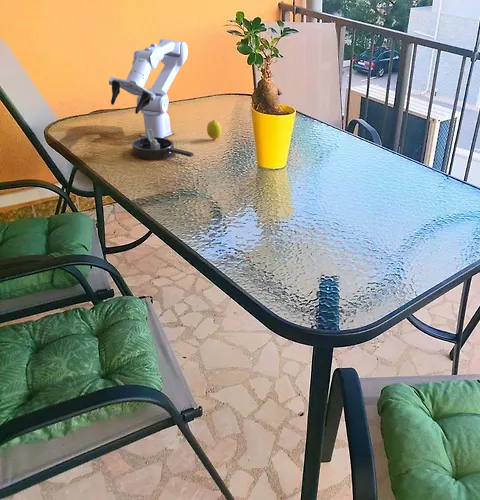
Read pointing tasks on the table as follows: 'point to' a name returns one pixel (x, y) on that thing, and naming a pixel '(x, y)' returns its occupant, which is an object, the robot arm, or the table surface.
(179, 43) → the robot arm
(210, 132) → the lemon
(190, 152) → the pan handle
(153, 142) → the lighter
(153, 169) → the table surface
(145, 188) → the table surface
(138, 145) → the pan
